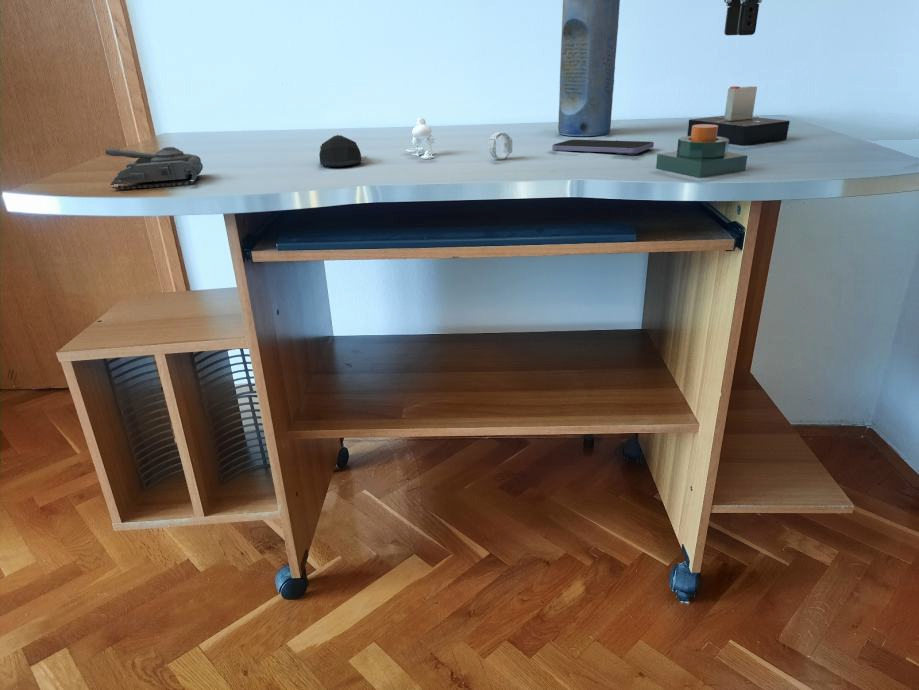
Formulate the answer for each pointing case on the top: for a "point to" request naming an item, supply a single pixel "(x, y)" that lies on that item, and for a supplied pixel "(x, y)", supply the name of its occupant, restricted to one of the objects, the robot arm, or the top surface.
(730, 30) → the robot arm
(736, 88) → the white block
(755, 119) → the dial panel
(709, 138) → the orange short cylinder
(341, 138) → the gaming mouse
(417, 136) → the figurine
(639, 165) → the top surface
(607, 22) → the bottle
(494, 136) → the smartwatch
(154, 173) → the tank toy
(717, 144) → the green peg socket
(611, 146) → the smartphone
